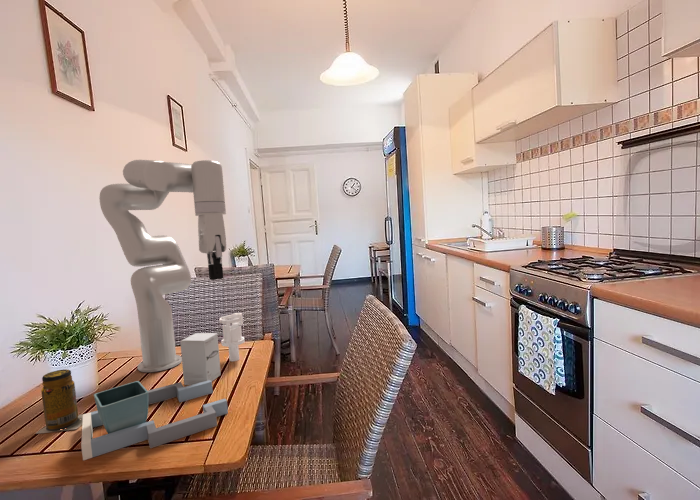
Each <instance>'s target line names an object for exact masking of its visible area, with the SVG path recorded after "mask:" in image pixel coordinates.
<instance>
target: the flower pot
mask: <svg viewBox="0 0 700 500" xmlns="http://www.w3.org/2000/svg"><path fill="white" fill-rule="evenodd" d="M148 393H149V392H148V390H147V388H146V387H145V386H144V385H143V384H142V383H141V382H140V381H139V380H136V381H133V382H132V381H131V382H129V383H125V384H122V385H119V386H115V387H113V388H110V389H107V390H106V389H105V390H102V391H100V392H96V393H93V398H94V403H95V405H96V406H95V407H96V411H98V414H99V417H100V419H101V421H102V423H103V425H102V426H103V427H104V428H105V431H106V433H107V434H109V433H113V432H116V431H119V430H122V429H126V428H129V427H132V426H136V425H139V424H142V423H145V422H147V419H148V416H149V405H148Z"/></svg>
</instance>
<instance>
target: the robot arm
mask: <svg viewBox="0 0 700 500" xmlns="http://www.w3.org/2000/svg"><path fill="white" fill-rule="evenodd" d="M122 175H123V178H124V180H125V181H126V182H127V183H112V184H108V185H105V186H104V187H102V188H101V190H100V192H99V197H98V198H99V206H100V209H101V212H102V214H103V216H104V219H106V221H107V222H108V224H109V225H110V226H111V228H112V229H113V230H114V233H115V235H116V237H117V240H118V242H119V245H120V247H121V249H122V252H123V254H124V256H125V258H126V260H127V262H128V264H129V265H130V266H132V267H134V268H135V267H137V268H138V267H140V268H139V269H137V270H135V271H134V272H133V273H132V275H131V276H130V286H131V289H132V292H133V297H134V299H135V304H136V309H137V310H136V311H137V319H138V326H139V327H138V328H139V329H138V330H139V337H140V347H141V357H142V361H141V362H140V363H138V364H137V370H138V371H139V372H141V373H156V372H161V371H166V370H169V369H171V368H174V367H177V366H178V365H180V364H182V355H179V354H177V351H176V342H175V331H174V330H175V329H174V320H173V310H172V307H171V305H170V304H169V302H168V301H167V300H166V299H165V298H164V296H166V295H168V294H173V293H178V292H179V293H180V292H183V291H185V290H187V289H188V288H189V287H190V286H191V282H192V276H191V275H192V274H191V272H190V269H189V266H188V264H187V262H186V259H185V258H184V255H183V253H182V251H181V249H180V246H179V244H178V242H177V241H176V240H175V239H174V238H173V237H171V236H170V235H150V234H149V233H148V231H147V228H146V226H145V224H144V223H143V222H142V221H141V219H139V217H137V216H136V215H134V214H133V213H132V212H130V211H154V210H156V209H159V207H160V206H161V205H163V203H164V201H165V200H166V198H167V197H168V195H169V193H190V194H191V193H193V205H194V214H195V216H196V217H198V218H197V228H198V229H197V233H198V235H197V236H198V251H199V252H200V253H202V254H205V255H206V258H207V267H208V279H209V280H211V281H216V280H222V279H224V271H223V253H224V252H226V250H227V236H226V229H225V228H226V227H225V221H224V215H226V214H227V213H226V212H227V211H226V199H225V197H226V196H225V187H224V186H225V185H224V175H223V166H222V164H221V163H220V162H218V161H216V160H209V159H208V160H207V159H206V160H197V161H194V162H193V163H182V162H169V161H163V160H156V159H155V160H153V159H150V160H149V159H134V160H133V159H132V160H131V161H129V162H127V163H126V164H125V166H123V170H122Z"/></svg>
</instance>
